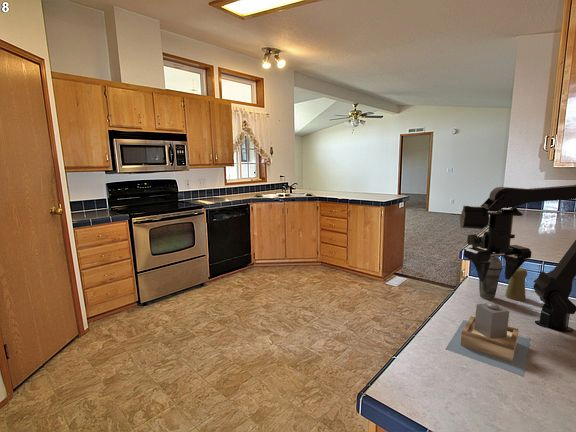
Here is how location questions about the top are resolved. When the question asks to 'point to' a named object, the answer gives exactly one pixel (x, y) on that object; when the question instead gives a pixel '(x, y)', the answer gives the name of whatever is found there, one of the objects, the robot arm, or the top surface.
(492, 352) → the wooden tray
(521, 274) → the cork
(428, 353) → the top surface
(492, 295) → the beverage cup
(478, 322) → the block
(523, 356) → the board
